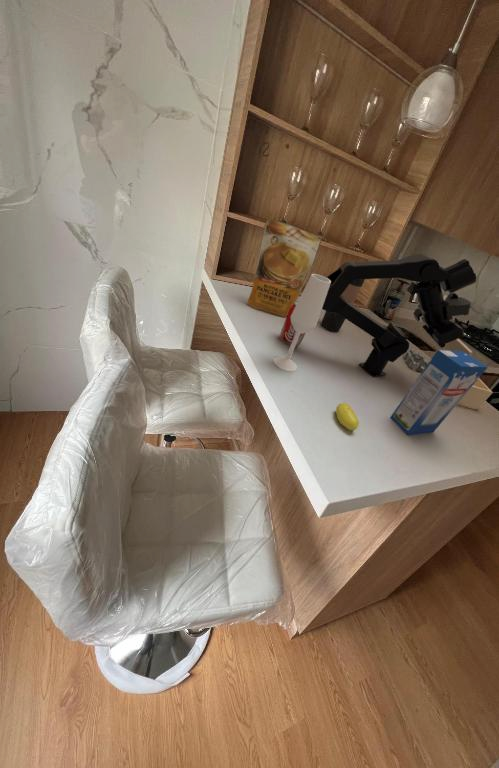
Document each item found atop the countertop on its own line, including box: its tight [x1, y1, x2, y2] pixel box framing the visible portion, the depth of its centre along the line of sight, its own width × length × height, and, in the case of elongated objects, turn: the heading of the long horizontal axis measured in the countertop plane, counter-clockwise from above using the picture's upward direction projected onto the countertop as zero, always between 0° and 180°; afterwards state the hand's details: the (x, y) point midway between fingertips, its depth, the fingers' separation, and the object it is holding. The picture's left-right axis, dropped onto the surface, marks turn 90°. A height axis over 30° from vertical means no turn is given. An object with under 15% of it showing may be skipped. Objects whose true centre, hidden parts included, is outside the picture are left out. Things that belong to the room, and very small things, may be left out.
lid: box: [445, 338, 474, 357], centre depth 97 cm, size 10×12×1 cm
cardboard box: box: [456, 377, 494, 411], centre depth 103 cm, size 10×12×7 cm
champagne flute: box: [273, 273, 331, 372], centre depth 82 cm, size 7×7×24 cm
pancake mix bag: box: [245, 219, 322, 318], centre depth 110 cm, size 7×19×28 cm, turn 87°
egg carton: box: [402, 348, 430, 374], centre depth 115 cm, size 11×8×4 cm
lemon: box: [335, 402, 360, 431], centre depth 73 cm, size 4×8×4 cm, turn 7°
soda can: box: [279, 300, 306, 346], centre depth 98 cm, size 7×7×12 cm
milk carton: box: [390, 349, 489, 436], centre depth 77 cm, size 10×6×20 cm, turn 114°
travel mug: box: [320, 279, 366, 333], centre depth 115 cm, size 8×8×20 cm
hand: (442, 346), depth 96 cm, fingers closed
